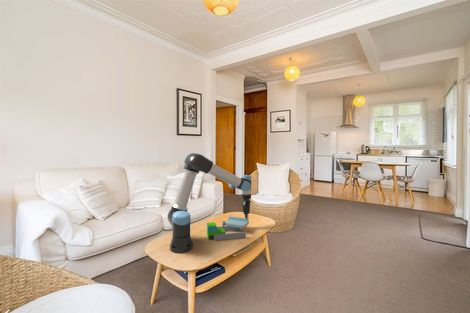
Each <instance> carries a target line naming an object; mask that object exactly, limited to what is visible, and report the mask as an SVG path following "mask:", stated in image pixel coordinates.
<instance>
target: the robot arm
mask: <svg viewBox="0 0 470 313" xmlns="http://www.w3.org/2000/svg"><path fill="white" fill-rule="evenodd" d="M183 171H184V172H183V176H182V179H181V183H180V186H179V190H178V193H177V196H176V200H175V201H174V202H175V203H174V204H172V205H171V208H170V210H169V211H168V212H167V221H168V223H169V224H170V225H171V227H172V228H171V230H172V238H171V241H170V244H169V251H171V252H173V253H177V254H178V253H186V252H190V251H191V250H192V249H193V247H194V242H193V239H192V237H191V220H192V219H191V214H190V213H189V212H188V211H189V209H188V204H189V199H190V197H191V192H192V190H193V187H194V185H195V184H194V183H195V179H196V177H197V175H198V174H200V172H202V173H204V174H206V175H207V174H209V175H211V176H213V177H215V178H217V179H219V180H221V181H223V182H225V183H227V184H228V187H229V188H230V189H238V190H240V191H241V194H242V195H241V199H242V200H243V203H242V204H241V205H242V210H243V214H244V218H247V219H248V220H249V214H251V213H250V211H251V202H252V201H251V199H252V176H251V175H249V174H243V175H242V176H241V177H239V176H237V175H235V174H233V173H232V172H230V171H228V170H226V169H224V168H222V167H220V166H218V165H216V164H214V162H213V161H212V160H211V159H209V158H208V157H207V156H206V157H205V156H204V155H203V154H200V153H194V152H193V153H189V154H187V155H186V156H185V158H184V166H183Z"/></svg>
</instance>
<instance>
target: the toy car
mask: <svg viewBox="0 0 470 313" xmlns="http://www.w3.org/2000/svg"><path fill="white" fill-rule="evenodd" d="M217 227H218V226H217V223H216V222H215V221H211V222H206V235H207V239H209V240H214V234H224V233H227V231H225V230H224V229H223V228H217Z"/></svg>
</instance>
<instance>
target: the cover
mask: <svg viewBox="0 0 470 313" xmlns="http://www.w3.org/2000/svg"><path fill="white" fill-rule="evenodd" d="M249 224H250V221H249V218H248V219H247V218H245V217H239V216H231V215H230V216H228V219H227V220H222V222H221V226H232V227H239V228H241V229H245V228H247V226H248V225H249Z"/></svg>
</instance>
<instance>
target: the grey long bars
mask: <svg viewBox="0 0 470 313" xmlns="http://www.w3.org/2000/svg"><path fill="white" fill-rule="evenodd" d="M217 228H223V229H224V230H225V232H226V233H224V234H214V238H213V241H221V240H224V241H225V240H236V239H245V238H247V232H246V231H242V228H239V227H232V226H226V225H225V226H222V225H221V226H217ZM236 231H237V232H236ZM238 231H240V232H238ZM227 232H228V233H227Z"/></svg>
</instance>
